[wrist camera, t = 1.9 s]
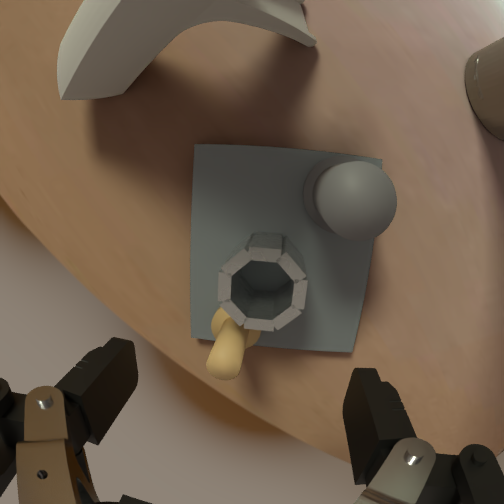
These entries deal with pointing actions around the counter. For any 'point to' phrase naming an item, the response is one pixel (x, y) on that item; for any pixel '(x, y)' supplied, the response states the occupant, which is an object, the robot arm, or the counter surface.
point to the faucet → (151, 37)
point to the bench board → (299, 233)
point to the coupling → (259, 301)
